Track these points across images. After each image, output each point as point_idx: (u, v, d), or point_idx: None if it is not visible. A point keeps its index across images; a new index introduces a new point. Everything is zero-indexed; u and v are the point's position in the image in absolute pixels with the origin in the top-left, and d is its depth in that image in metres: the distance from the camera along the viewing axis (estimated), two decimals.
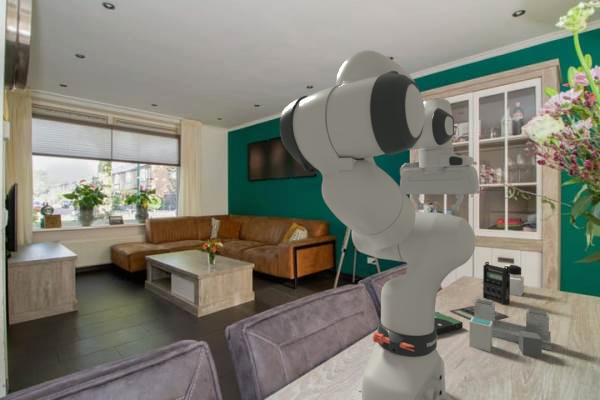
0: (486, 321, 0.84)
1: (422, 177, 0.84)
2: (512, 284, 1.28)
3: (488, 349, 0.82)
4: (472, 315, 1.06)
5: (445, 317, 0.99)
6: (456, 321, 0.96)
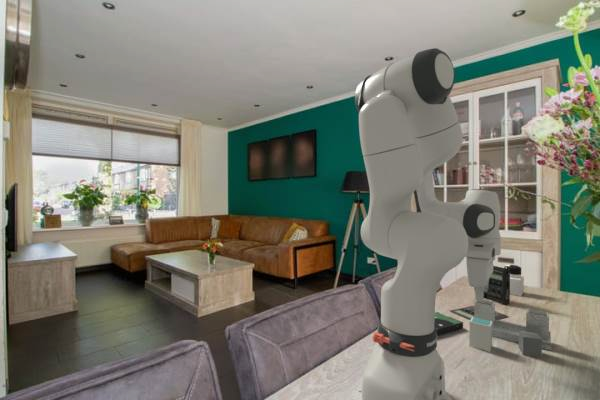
0: (486, 321, 0.84)
1: None
2: (512, 284, 1.28)
3: (488, 349, 0.82)
4: (472, 315, 1.06)
5: (445, 317, 0.99)
6: (456, 321, 0.96)
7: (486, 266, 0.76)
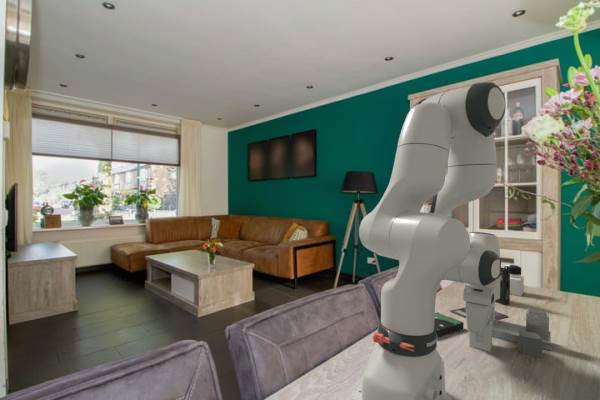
0: None
1: None
2: (512, 284, 1.28)
3: (488, 349, 0.82)
4: None
5: (446, 317, 0.99)
6: (457, 321, 0.96)
7: (485, 313, 0.76)
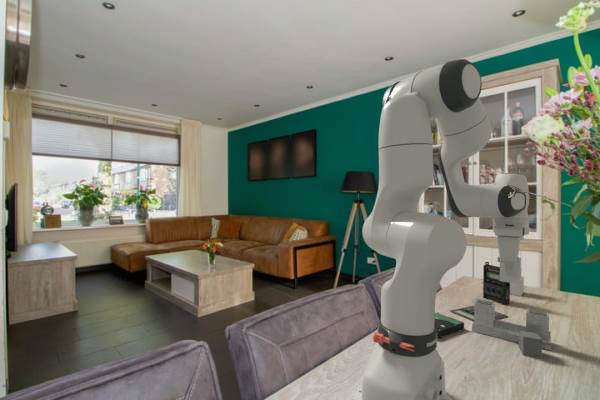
0: None
1: None
2: (512, 284, 1.28)
3: (518, 282, 0.87)
4: (472, 315, 1.06)
5: (446, 318, 0.99)
6: (458, 322, 0.96)
7: (517, 243, 0.81)
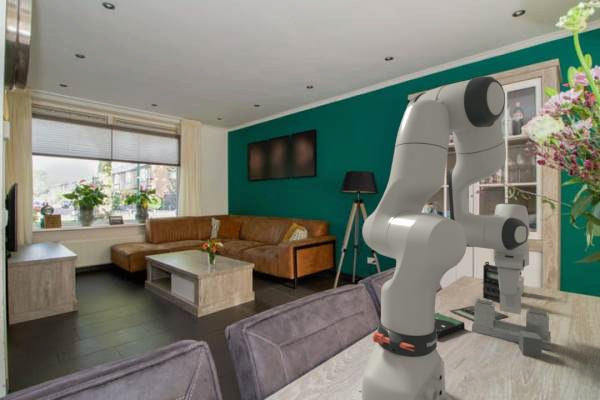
0: None
1: None
2: None
3: (518, 312, 0.87)
4: (472, 315, 1.06)
5: (446, 318, 0.99)
6: (458, 322, 0.96)
7: (517, 276, 0.81)
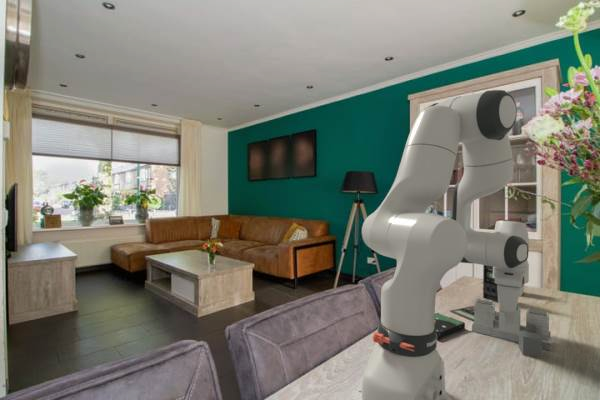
0: None
1: None
2: None
3: (517, 333, 0.87)
4: (472, 315, 1.06)
5: (447, 318, 0.98)
6: (458, 322, 0.96)
7: (517, 294, 0.81)
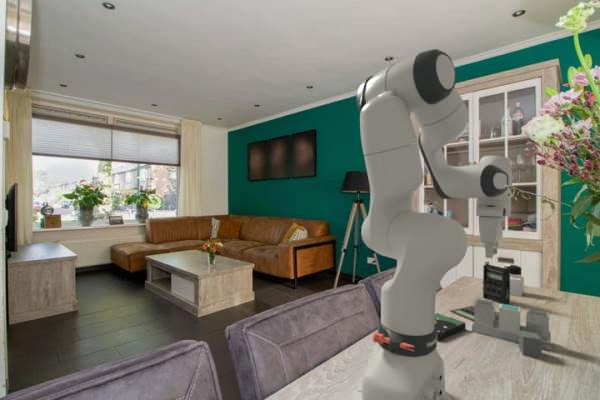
0: (515, 307, 0.89)
1: None
2: (512, 284, 1.28)
3: (517, 333, 0.87)
4: (472, 315, 1.06)
5: (447, 318, 0.98)
6: (459, 322, 0.95)
7: (497, 223, 0.81)
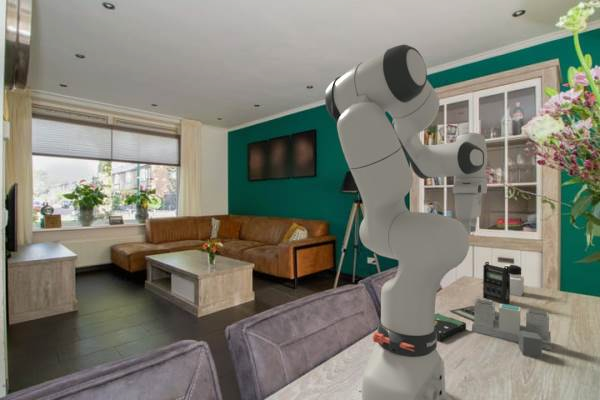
0: (515, 307, 0.89)
1: None
2: (512, 284, 1.28)
3: (517, 333, 0.87)
4: (472, 315, 1.05)
5: (447, 319, 0.98)
6: (459, 322, 0.95)
7: (472, 199, 0.83)
